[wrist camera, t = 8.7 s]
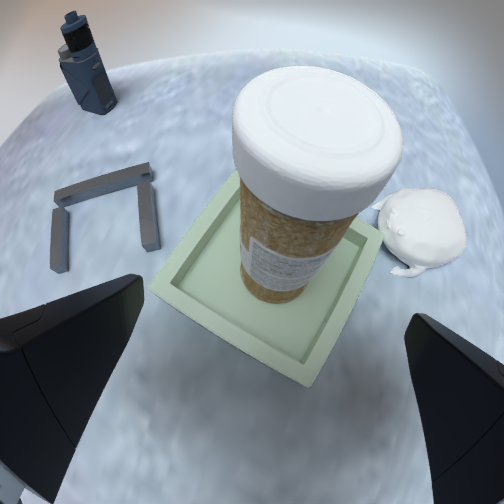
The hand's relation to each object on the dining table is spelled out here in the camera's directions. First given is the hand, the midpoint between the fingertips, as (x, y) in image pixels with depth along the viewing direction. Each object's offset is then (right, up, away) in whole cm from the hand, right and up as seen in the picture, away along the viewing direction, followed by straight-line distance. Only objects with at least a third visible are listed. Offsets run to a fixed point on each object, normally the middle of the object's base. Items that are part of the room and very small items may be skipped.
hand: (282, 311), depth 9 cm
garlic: (+12, +3, +12) cm, 17 cm away
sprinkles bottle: (+1, +1, +10) cm, 10 cm away
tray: (0, +1, +11) cm, 11 cm away
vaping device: (-17, +17, +17) cm, 29 cm away
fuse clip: (-12, +3, +11) cm, 17 cm away
